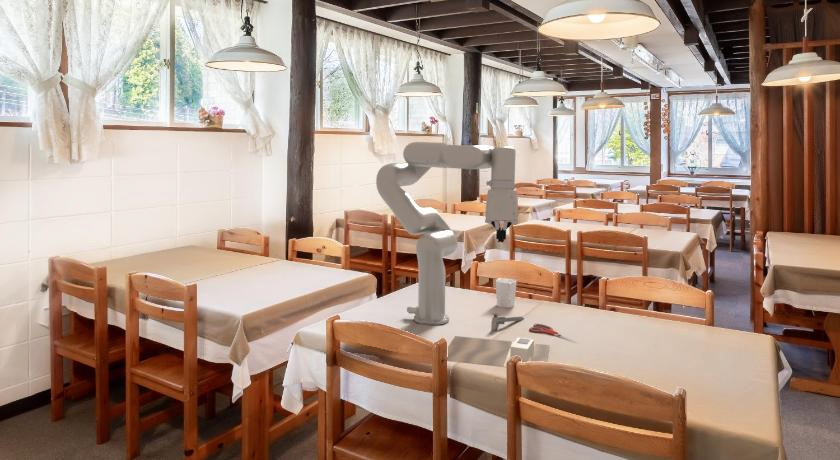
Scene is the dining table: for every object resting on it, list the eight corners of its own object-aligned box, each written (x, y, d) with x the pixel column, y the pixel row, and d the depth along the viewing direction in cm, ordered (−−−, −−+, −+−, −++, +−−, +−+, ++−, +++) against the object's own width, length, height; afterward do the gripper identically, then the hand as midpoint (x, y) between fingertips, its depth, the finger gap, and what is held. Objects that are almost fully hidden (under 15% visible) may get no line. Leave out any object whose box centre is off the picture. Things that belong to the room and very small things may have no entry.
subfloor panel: (439, 361, 170) (439, 359, 170) (455, 337, 191) (455, 336, 191) (545, 372, 162) (545, 371, 162) (549, 346, 183) (549, 345, 183)
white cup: (494, 307, 226) (495, 282, 224) (495, 302, 233) (496, 277, 232) (515, 308, 224) (516, 283, 223) (515, 303, 232) (516, 278, 231)
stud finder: (510, 359, 170) (510, 346, 169) (517, 349, 178) (517, 336, 178) (527, 362, 168) (527, 348, 167) (533, 352, 176) (534, 339, 176)
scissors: (580, 346, 184) (580, 342, 184) (524, 331, 199) (524, 327, 199) (592, 341, 190) (592, 336, 189) (537, 326, 204) (537, 322, 204)
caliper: (493, 333, 196) (494, 315, 195) (491, 332, 197) (491, 314, 196) (524, 319, 212) (524, 302, 211) (521, 318, 212) (522, 302, 211)
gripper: (477, 185, 186) (476, 242, 189) (525, 186, 182) (523, 244, 185) (481, 183, 193) (480, 238, 196) (527, 185, 189) (525, 241, 192)
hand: (501, 241), depth 190 cm, fingers closed
